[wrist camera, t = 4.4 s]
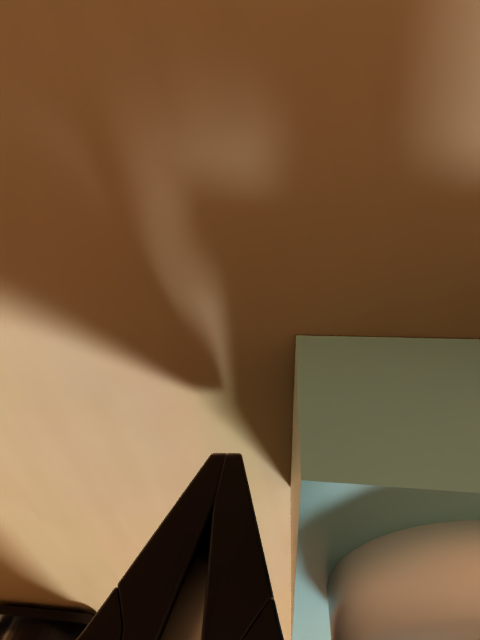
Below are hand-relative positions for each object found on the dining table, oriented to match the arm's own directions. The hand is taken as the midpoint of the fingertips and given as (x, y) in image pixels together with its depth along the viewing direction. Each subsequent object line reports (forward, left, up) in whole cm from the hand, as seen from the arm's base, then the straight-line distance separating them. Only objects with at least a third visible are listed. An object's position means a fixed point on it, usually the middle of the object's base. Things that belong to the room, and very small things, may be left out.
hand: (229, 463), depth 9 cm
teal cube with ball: (+5, 0, -2) cm, 5 cm away
